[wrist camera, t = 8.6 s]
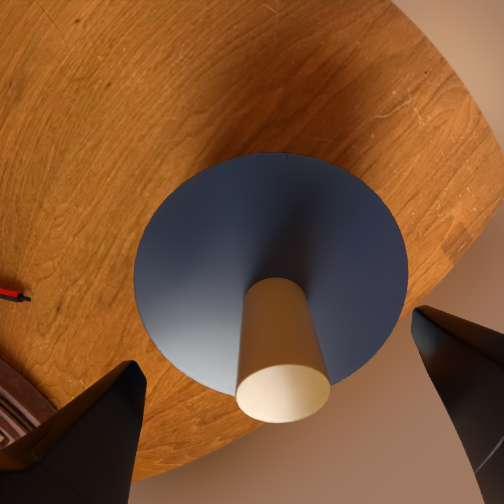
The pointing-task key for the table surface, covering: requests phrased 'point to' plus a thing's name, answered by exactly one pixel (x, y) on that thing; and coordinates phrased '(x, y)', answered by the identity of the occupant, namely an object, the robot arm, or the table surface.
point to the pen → (13, 296)
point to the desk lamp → (19, 405)
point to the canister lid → (271, 280)
